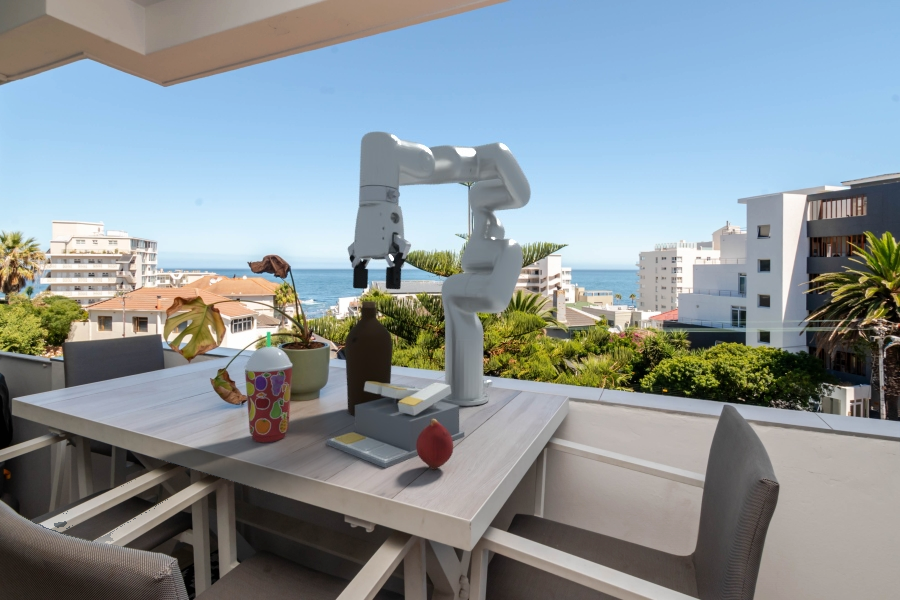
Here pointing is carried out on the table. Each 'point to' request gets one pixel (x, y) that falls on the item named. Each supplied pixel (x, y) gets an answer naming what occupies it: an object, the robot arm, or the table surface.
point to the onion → (434, 445)
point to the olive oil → (367, 356)
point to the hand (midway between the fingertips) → (376, 288)
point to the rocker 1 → (380, 387)
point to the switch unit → (392, 430)
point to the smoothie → (268, 392)
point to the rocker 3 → (424, 398)
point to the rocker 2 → (398, 391)
